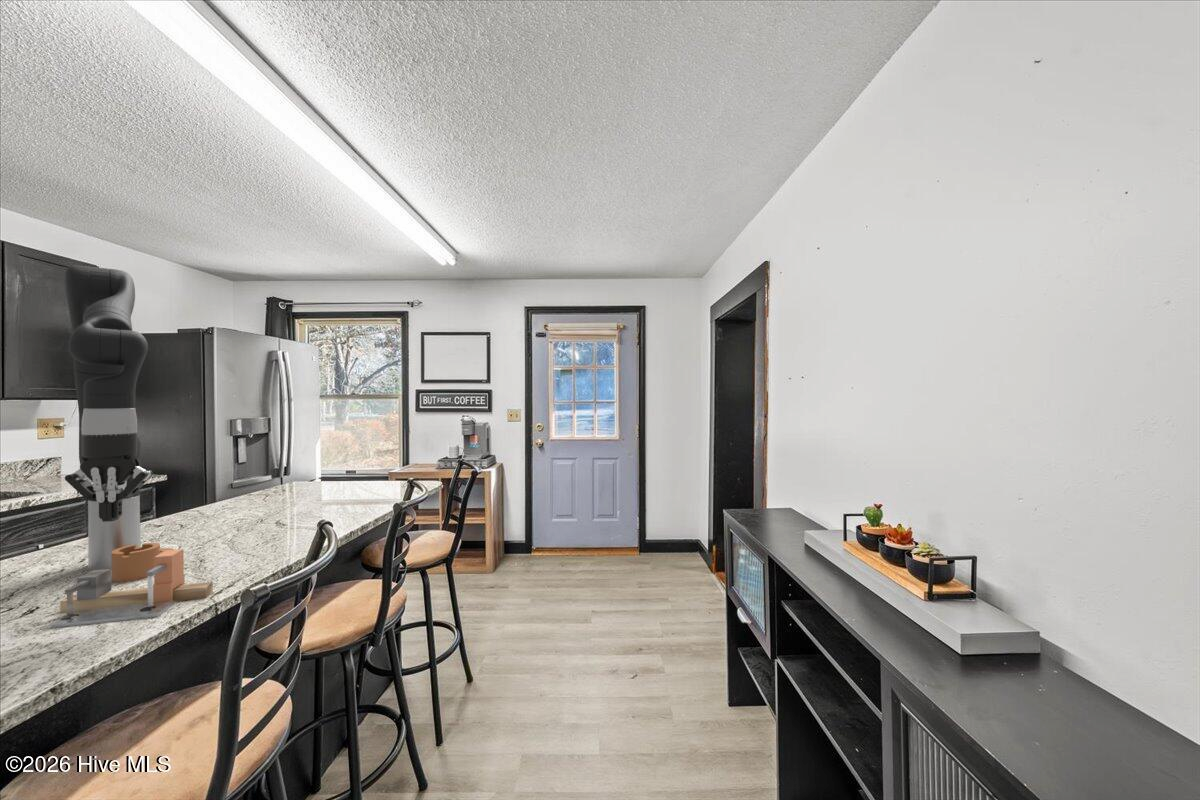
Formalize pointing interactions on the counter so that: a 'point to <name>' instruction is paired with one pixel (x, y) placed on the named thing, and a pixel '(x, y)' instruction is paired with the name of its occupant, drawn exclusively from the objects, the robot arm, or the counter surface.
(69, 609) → the trammel bar
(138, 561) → the bracket
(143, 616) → the strip
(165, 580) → the block
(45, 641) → the counter surface
